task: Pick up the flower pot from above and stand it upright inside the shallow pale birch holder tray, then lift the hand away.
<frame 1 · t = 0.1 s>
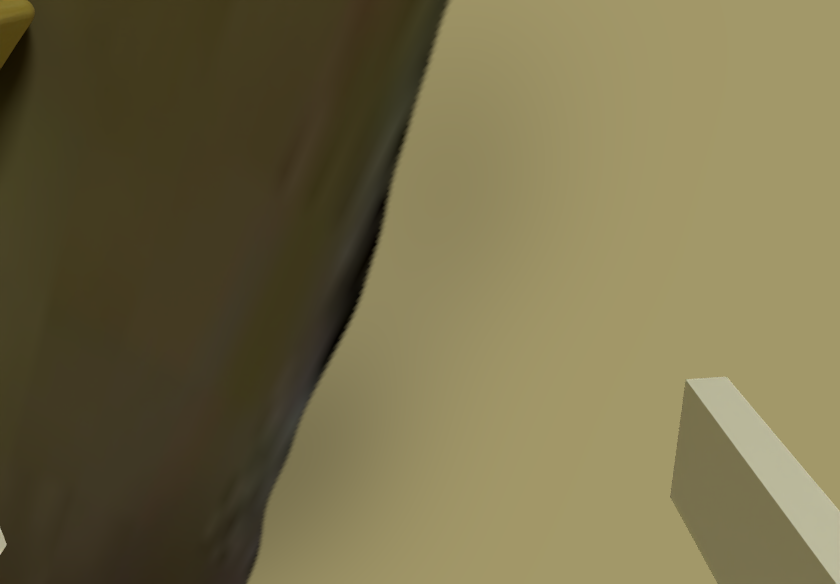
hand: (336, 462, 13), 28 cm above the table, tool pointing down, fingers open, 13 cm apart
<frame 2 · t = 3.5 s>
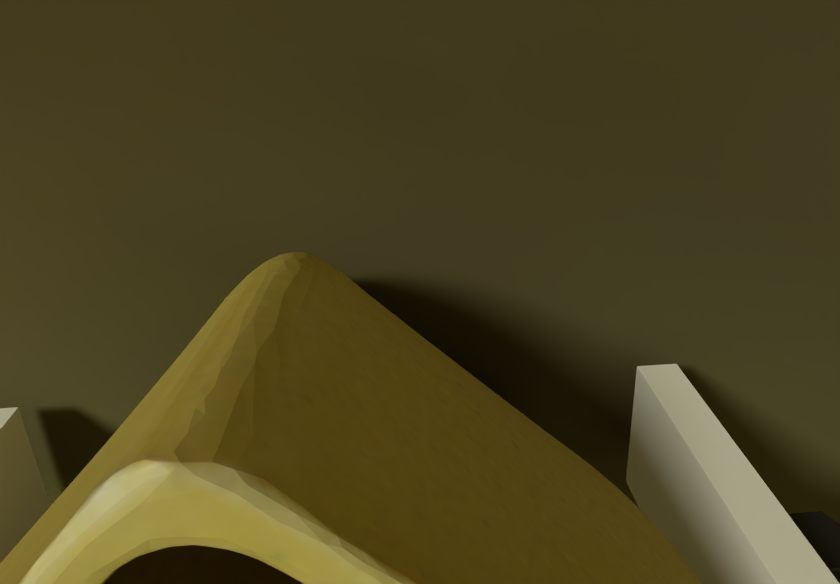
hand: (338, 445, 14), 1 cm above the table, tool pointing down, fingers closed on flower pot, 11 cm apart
flower pot: (341, 417, 15), on the table, touching gripper
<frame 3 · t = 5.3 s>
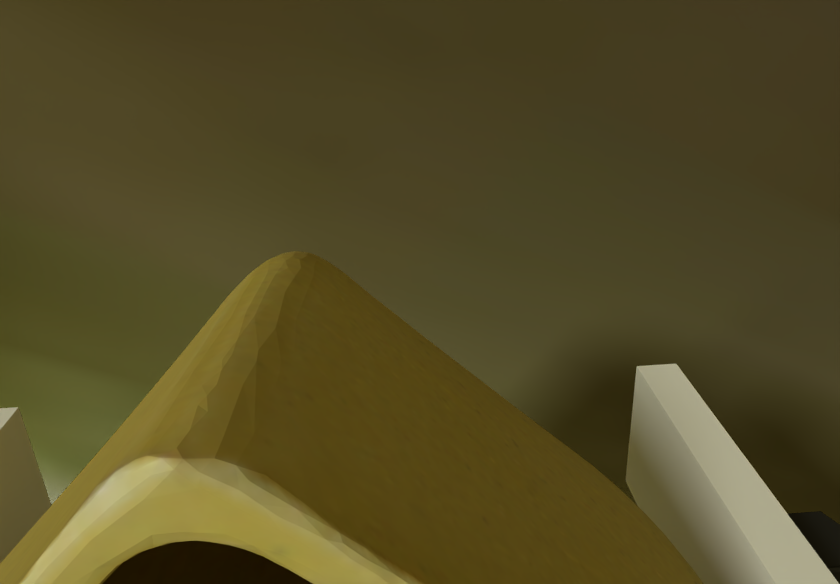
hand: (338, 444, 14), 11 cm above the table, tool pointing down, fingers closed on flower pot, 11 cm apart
flower pot: (342, 416, 15), point 10 cm above the table, touching gripper
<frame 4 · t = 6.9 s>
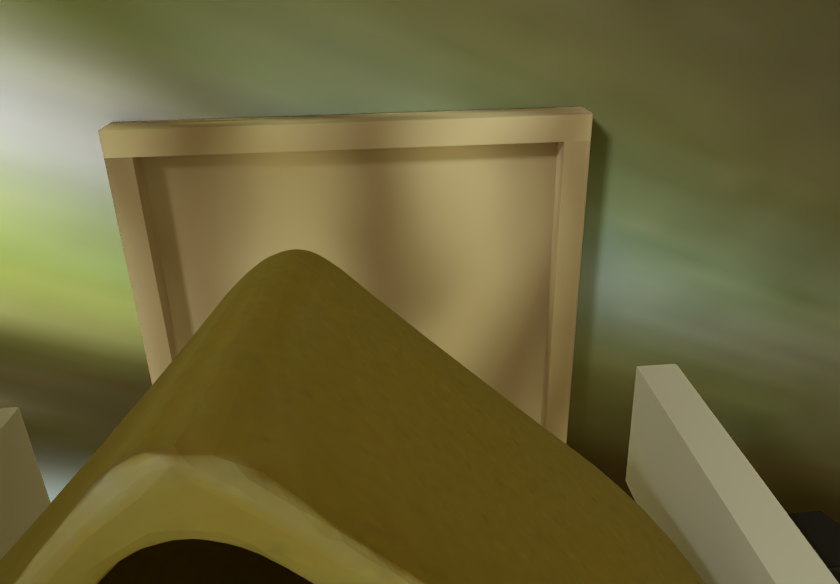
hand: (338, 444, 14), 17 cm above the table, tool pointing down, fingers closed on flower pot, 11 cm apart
holder tray: (363, 322, 31), on the table
flower pot: (342, 415, 15), point 16 cm above the table, touching gripper
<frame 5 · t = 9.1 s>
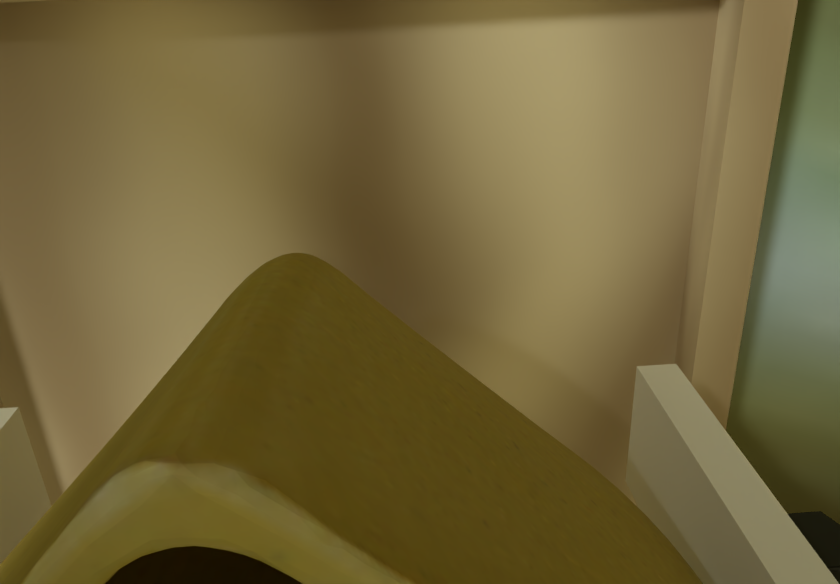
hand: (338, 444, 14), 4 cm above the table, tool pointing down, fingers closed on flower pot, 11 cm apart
holder tray: (342, 346, 17), on the table
flower pot: (342, 417, 15), point 3 cm above the table, touching gripper
when the fingers open (3 cm above the table, at t = 10.3 s): flower pot moves 2 cm, resting on holder tray.
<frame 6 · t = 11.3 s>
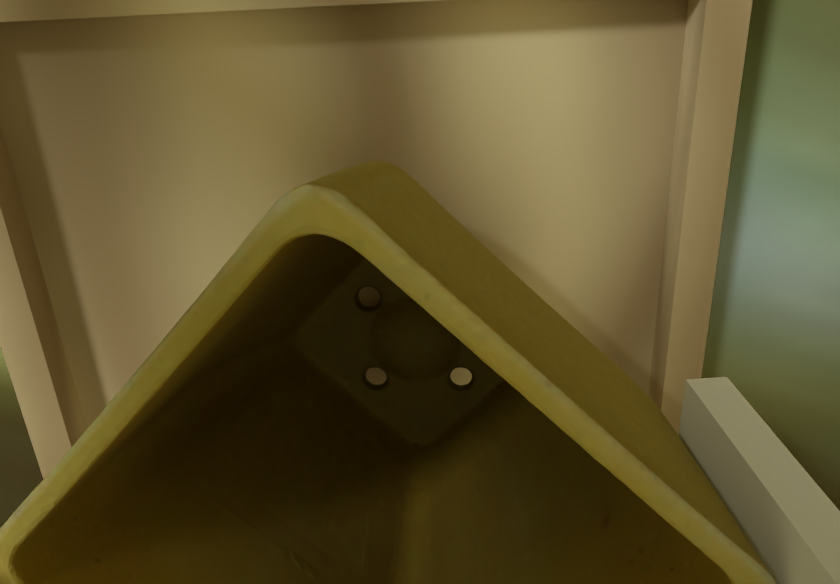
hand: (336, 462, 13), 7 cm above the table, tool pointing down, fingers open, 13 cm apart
holder tray: (362, 316, 20), on the table
flower pot: (420, 325, 19), point 1 cm above the table, touching holder tray
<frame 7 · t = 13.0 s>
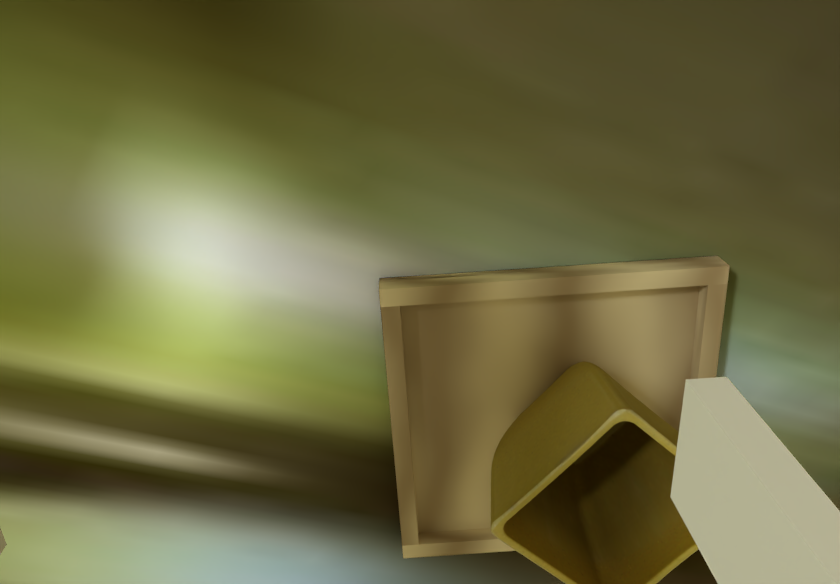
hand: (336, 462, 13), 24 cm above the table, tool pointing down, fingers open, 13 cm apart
holder tray: (546, 410, 42), on the table
flower pot: (574, 410, 41), resting on holder tray
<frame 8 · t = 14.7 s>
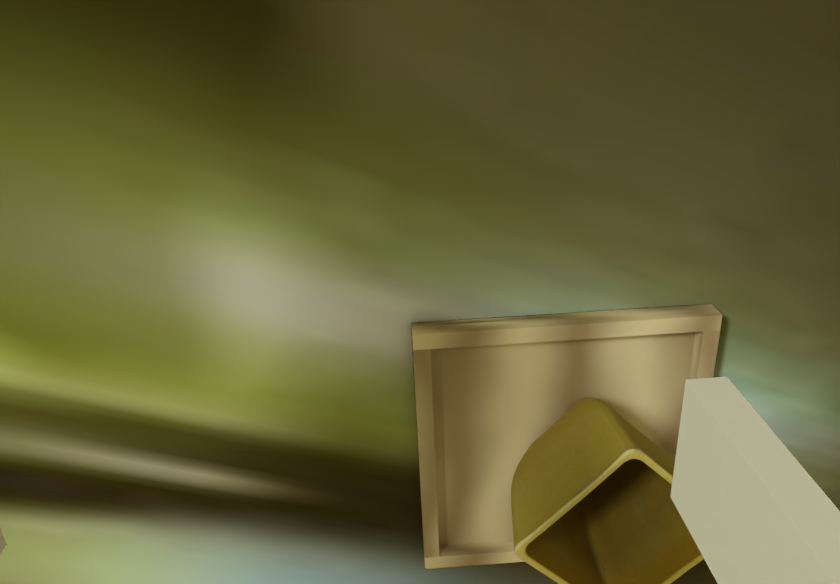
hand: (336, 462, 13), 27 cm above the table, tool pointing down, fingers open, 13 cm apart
holder tray: (556, 437, 46), on the table
flower pot: (582, 437, 46), resting on holder tray
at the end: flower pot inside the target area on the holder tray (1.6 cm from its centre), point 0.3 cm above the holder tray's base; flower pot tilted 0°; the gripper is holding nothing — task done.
